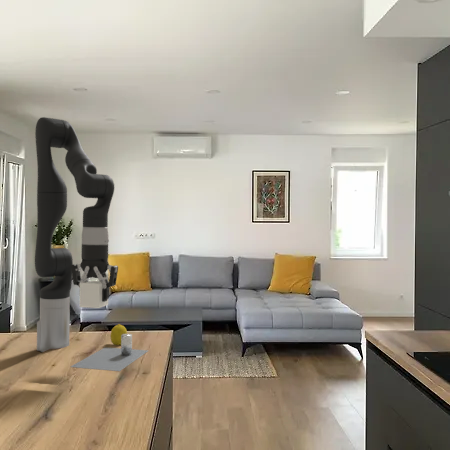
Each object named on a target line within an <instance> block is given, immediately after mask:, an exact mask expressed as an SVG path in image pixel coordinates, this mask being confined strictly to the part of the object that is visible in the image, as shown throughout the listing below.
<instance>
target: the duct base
mask: <svg viewBox="0 0 450 450" xmlns="http://www.w3.org/2000/svg"><path fill="white" fill-rule="evenodd" d="M148 352H149V350H147V349H145V350H144V349H133V348H132V355H129V356H122V355H121V347H108V346H107V347H106V346H105V347H103V348H101V349H100V350H98V351H96V352H94V353H92V354H90V355H89V356H87V357H85V358H83V359H81V360H80V361H78V362H76V363H74V364H72V365H71V366H70V368H76V369H86V370H87V369H88V370H89V369H90V370H101V371H102V370H103V371H113V372H121V371H122V370H124V369H125V368H126V367H128V366H129V365H131V364H132V363H133V362H135V361H137V360H138V359H139V358H140V357H142V356H144V355H145V354H147V353H148Z"/></svg>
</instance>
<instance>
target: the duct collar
mask: <svg viewBox="0 0 450 450" xmlns="http://www.w3.org/2000/svg"><path fill="white" fill-rule="evenodd" d="M102 289H103V287H102V283H101V282H100V281H99V280H96V279H95V280H91V279H90V280H89V281H85V282H81V283H80V287H79V308H84V309H85V308H87V309H101V308H103V307H106V306H109V299H107V301H105V302H103V301H102Z"/></svg>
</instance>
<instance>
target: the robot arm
mask: <svg viewBox="0 0 450 450" xmlns="http://www.w3.org/2000/svg"><path fill="white" fill-rule="evenodd" d="M34 130H35V132H34V133H35V136H34V137H35V148H36V150H35V151H36V160H37V187H36V210H37V212H36V213H37V222H36V223H37V225H36V227H37V230H36V241H35V250H34V252H35V253H34V268H35V272H36V274H37V276H39V278H52V277H54V278H53V279H54V280H53V281H52V282H51V283H49V284H48V285H45V286H44V287H42V288H41V289H40V291H39V320H37V321H36V351H39V352H41V353H44V352H47V351H49V350H57V349H63V348H67V347H69V346H70V324H71V323H70V316H71V315H70V312H71V311H70V310H71V309H70V306H71V305H70V304H71V302H70V301H71V297H70V296H71V294H70V293H71V289H72V282H73V285H74V286H75V285H76V286H78V287H79V288H80V283H81V282H85V281H89V280H91V279H92V278H94V279H98V281H100V282H101V283H102V287H103V289H102V301H103V302H105V301H107V299H108V300H109V298H110V288H111V287H114V286H116V285H117V281H118V279H117V278H118V272H119V266H118V265H113V264H112V265H111V264H109V260H108V259H109V242H110V241H109V228H108V227H109V226H108V225H109V221H108V220H109V218H108V217H109V211H110V207H111V203H112V198H113V196H114V193H115V183H114V180H113V178H112V177H111V176H110V175H107V174H99V173H98V170H97V167H96V165H95V164H94V163H93V161H92V160H91V158H90V157H89V156H88V154H86V152H85V150H84V148H83V146H82V144H81V141H80V139H79V138H78V135H77V132H76V130H75V128H74V127H73V125H72V124H71V123H70V122H69V121H68V120H64V119H58V118H51V117H45V116H44V117H39V118H38V119H37V122H36V125H35V129H34ZM52 148H57V149H65V150H66V151H67V152H66V153H65V159H64V161H65V165H66V168H67V170H68V171H69V172H70V174H71V175H72V176H73V178H74V183H75V186H76V191H77V193H78V194H79V195H80V196H81V197H83V198H85V199H97V200H96V202H95V204H94V205H91V206H86V207H85V208H84V209H83V210H82V232H81V254H80V255H81V261H80V262H81V263H74V264H73V254H72V253H71V251H70V249H68V248H65V247H55V248H54V247H52V240H53V237H54V236H53V235H54V232H55V230H56V229H57V226H58V225H59V224H60V222H61V221H62V219H63V217H64V215H65V214H66V211H67V207H68V188H67V185H66V182H65V181H64V178H63V177H62V175H61V174H60V172H59V170H58V169H57V167H56V165H55V163H54V160H53V155H52ZM81 270H82V271H83V274H82V276H81ZM107 271H108V272H109V277H108V274H107Z"/></svg>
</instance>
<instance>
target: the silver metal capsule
mask: <svg viewBox="0 0 450 450" xmlns="http://www.w3.org/2000/svg"><path fill="white" fill-rule="evenodd" d="M120 346H121V347H120V348H121V355H122V356H129V355H132V349H133V334H131V333H127V334H122V335H121V345H120Z"/></svg>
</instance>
